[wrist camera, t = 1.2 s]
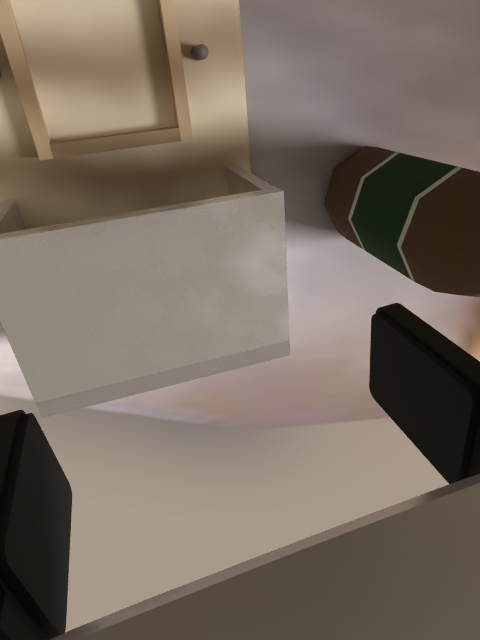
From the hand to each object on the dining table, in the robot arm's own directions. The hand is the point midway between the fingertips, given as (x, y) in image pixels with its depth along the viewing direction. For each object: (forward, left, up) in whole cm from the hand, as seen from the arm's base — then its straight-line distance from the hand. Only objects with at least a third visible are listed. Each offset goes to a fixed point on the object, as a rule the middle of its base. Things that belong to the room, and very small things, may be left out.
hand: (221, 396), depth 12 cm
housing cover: (+4, -1, -22) cm, 23 cm away
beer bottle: (+2, +18, -24) cm, 30 cm away
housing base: (-3, -1, -23) cm, 24 cm away
